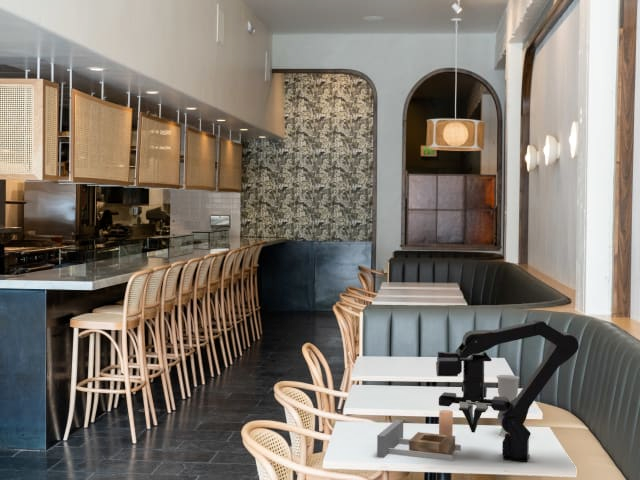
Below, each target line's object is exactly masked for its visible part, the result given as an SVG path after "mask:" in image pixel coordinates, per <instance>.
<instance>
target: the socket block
mask: <svg viewBox="0 0 640 480" xmlns="http://www.w3.org/2000/svg"><path fill="white" fill-rule="evenodd" d="M455 444H456V436H455V435H452V436H450V435H440V434H439V433H431V432H430V433H429V432H421V431H418V432H416V433H415V434H414V435H413V437H411V438H410V440H409V445H408V450H411V451H420V452H429V453H438V454H446V455H452V454H453V453H454V452H455V451H456V450H455Z"/></svg>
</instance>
